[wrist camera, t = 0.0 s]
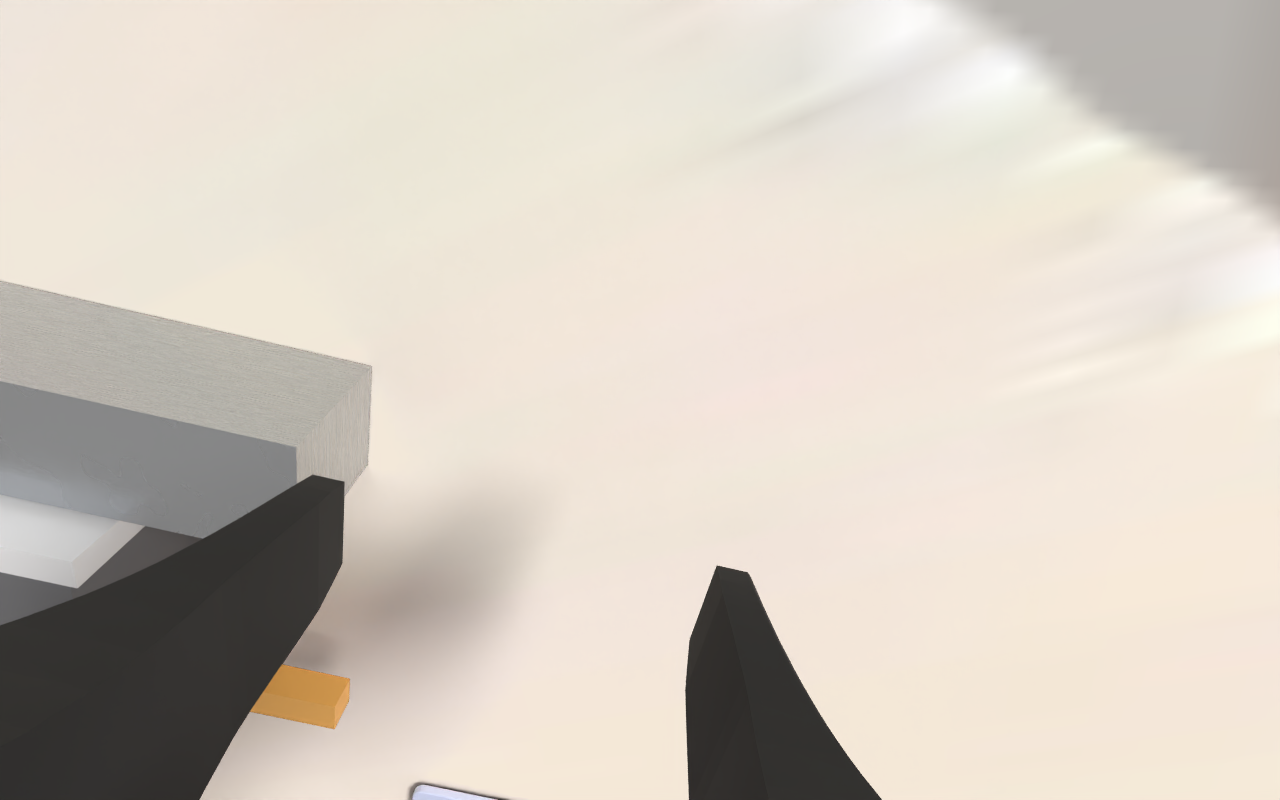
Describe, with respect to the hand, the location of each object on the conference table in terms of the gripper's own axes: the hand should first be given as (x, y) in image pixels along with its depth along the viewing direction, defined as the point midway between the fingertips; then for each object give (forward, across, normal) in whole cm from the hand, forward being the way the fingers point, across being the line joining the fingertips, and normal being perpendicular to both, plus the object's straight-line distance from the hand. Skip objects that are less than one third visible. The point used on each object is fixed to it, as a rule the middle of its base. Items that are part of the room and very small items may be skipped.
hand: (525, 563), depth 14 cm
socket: (+10, +15, +4) cm, 19 cm away
